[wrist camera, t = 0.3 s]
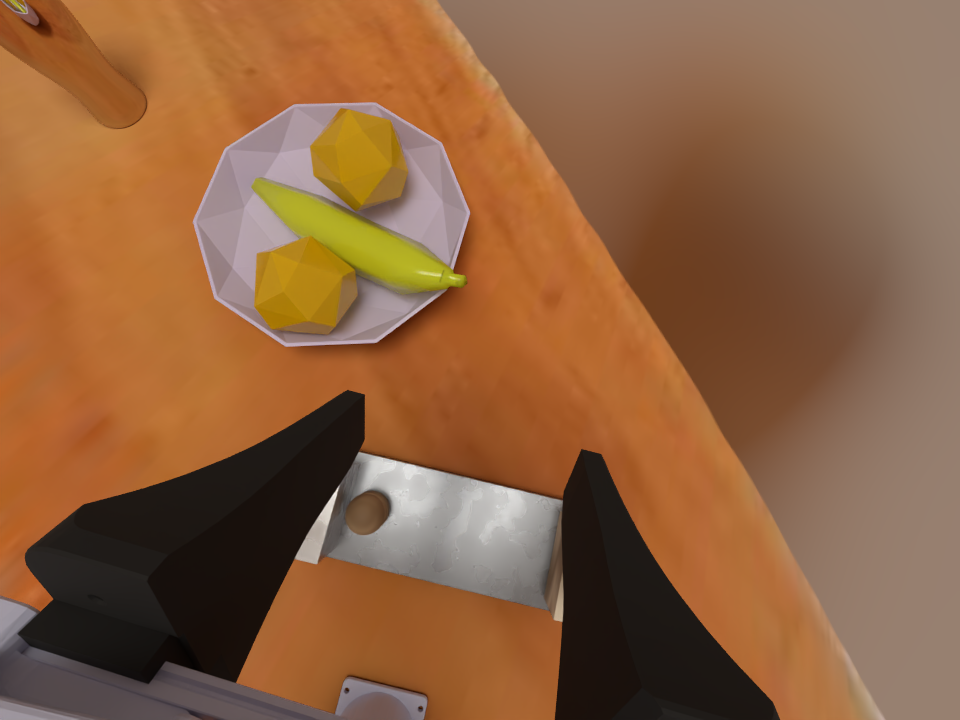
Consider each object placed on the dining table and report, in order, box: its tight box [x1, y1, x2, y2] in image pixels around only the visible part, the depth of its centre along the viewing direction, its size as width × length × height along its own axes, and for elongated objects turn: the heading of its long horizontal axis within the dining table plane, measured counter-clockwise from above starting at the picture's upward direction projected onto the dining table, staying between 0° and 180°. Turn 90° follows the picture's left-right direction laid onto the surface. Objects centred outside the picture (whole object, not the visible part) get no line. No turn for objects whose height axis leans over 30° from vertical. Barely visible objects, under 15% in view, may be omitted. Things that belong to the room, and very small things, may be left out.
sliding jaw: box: [544, 511, 563, 622], centre depth 34 cm, size 8×3×8 cm, turn 167°
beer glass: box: [0, 0, 146, 128], centre depth 40 cm, size 7×7×15 cm
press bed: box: [295, 451, 563, 611], centre depth 37 cm, size 10×30×6 cm, turn 77°
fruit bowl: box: [193, 103, 470, 347], centre depth 40 cm, size 28×27×11 cm
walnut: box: [345, 491, 390, 535], centre depth 37 cm, size 4×4×4 cm
